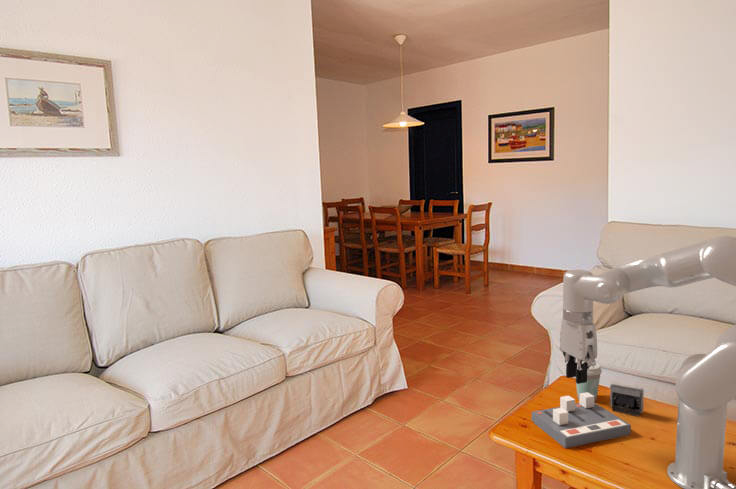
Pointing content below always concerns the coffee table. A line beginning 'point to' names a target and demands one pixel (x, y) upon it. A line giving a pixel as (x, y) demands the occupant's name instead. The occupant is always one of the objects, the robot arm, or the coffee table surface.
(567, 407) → the middle switch
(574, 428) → the switch unit
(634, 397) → the electrical switch
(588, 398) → the right switch
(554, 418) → the left switch
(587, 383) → the coffee cup
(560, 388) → the coffee table surface
